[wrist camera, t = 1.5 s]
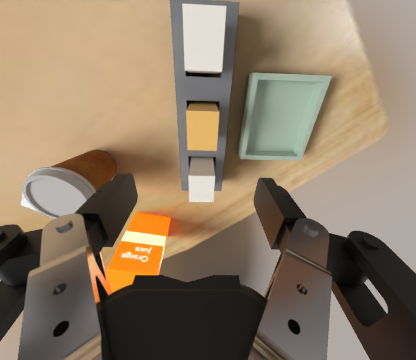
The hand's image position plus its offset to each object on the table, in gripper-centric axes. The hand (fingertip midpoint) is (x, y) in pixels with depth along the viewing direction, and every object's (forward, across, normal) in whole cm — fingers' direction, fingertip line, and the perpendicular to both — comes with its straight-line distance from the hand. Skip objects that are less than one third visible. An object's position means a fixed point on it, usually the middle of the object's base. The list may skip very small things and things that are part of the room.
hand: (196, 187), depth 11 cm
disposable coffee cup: (+22, +21, +10) cm, 32 cm away
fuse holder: (+22, 0, 0) cm, 22 cm away
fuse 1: (+22, 0, -9) cm, 24 cm away
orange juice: (+22, +12, +28) cm, 38 cm away
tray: (+22, -13, 0) cm, 26 cm away
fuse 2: (+22, 0, +9) cm, 24 cm away
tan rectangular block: (+22, 0, 0) cm, 22 cm away
